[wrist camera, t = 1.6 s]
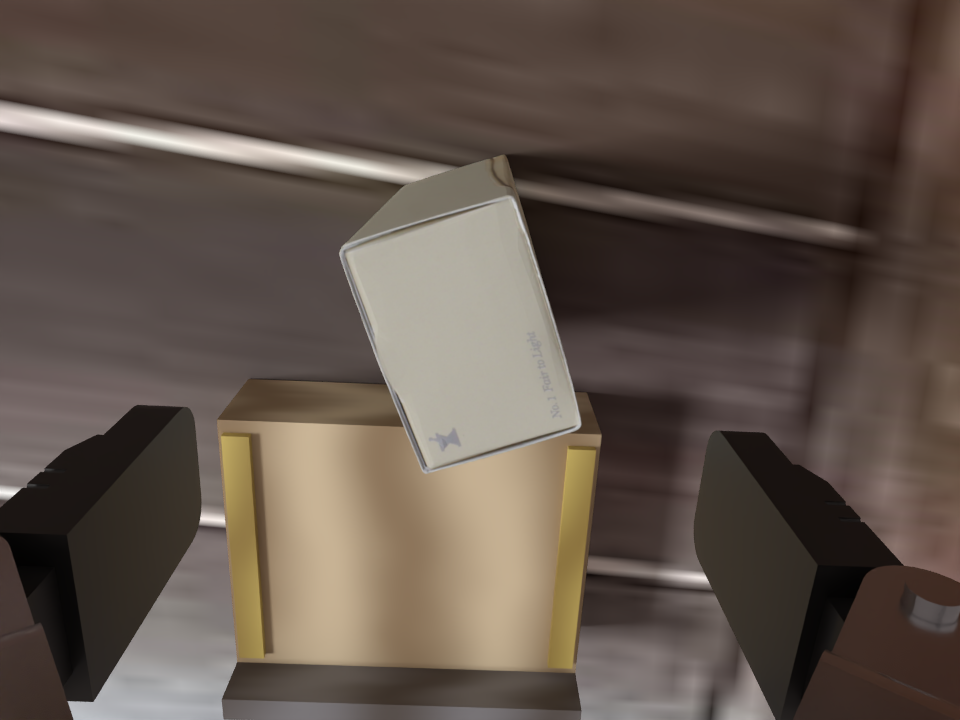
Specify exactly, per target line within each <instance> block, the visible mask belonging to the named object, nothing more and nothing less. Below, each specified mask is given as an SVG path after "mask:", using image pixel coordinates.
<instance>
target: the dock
mask: <svg viewBox="0 0 960 720" xmlns="http://www.w3.org/2000/svg"><path fill="white" fill-rule="evenodd" d="M575 395H576V399H577V404H578V408H579V412H580V416H581V422H582V425H581V427H580V428H579V429H578V430H576V431H574V432H571V433H567V434H564V435H561V436H558V437H555V438H552V439H549V440H546V441H542V442H539V443H536V444H533V445H529V446H526V447H523V448H519V449H515V450H511V451H508V452H504V453H501V454H497V455H494V456H491V457H487V458H484V459H479V460H476V461H473V462H468V463H465V464H461V465H457V466H454V467H450V468H446V469H441V470H438V471H435V472H432V473H428V474H425V473H423V471H422V469H421V468H420V465H419V462H418V460H417V457H416V454H415V452H414V450H413V448H412V445H411V443H410V440H409V438H408V436H407V433H406V431H405V428H404V426H403V423H402V421H401V418H400V416H399V413H398V411H397V409H396V406H395V404H394V402H393V399H392V396H391V394H390V391H389V389H388V386H387V385H386V384H361V383H336V382H311V381H286V380H261V379H248V381H247V382H246V383H245V384H244V386H243V387H242V388H241V389H240V391H239V392H238V393H237V395H236V396H235V397H234V398H233V400H232V401H231V402H230V404H229V405H228V406H227V407H226V409H225V410H224V411H223V413H222V414H221V415H220V416H219V418H218V419H217V427H218V438H219V450H220V462H221V474H222V486H223V498H224V509H225V521H226V533H227V545H228V557H229V569H230V580H231V592H232V604H233V616H234V628H235V640H236V651H237V664H236V667H235V669H234V671H233V674H232V676H231V679H230V681H229V683H228V686H227V688H226V691H225V693H224V695H223V698H222V706H223V717H224V719H228V720H580V719H581V705H580V699H579V693H578V687H577V681H576V675H575V670H576V661H577V652H578V643H579V634H580V625H581V616H582V607H583V598H584V589H585V580H586V571H587V562H588V553H589V544H590V535H591V526H592V517H593V509H594V500H595V491H596V482H597V473H598V464H599V455H600V446H601V437H602V434H601V431H600V428H599V426H598V423H597V420H596V417H595V414H594V412H593V409H592V406H591V403H590V400H589V398H588V395H587V392H575Z"/></svg>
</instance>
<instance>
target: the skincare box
mask: <svg viewBox="0 0 960 720" xmlns="http://www.w3.org/2000/svg"><path fill="white" fill-rule="evenodd" d="M339 255H340V259H341V262H342V265H343V268H344V271H345V274H346V276H347V279H348V282H349V285H350V288H351V291H352V293H353V296H354V299H355V302H356V304H357V307H358V309H359V312H360V315H361V318H362V321H363V323H364V326H365V329H366V332H367V334H368V337H369V340H370V342H371V345H372V348H373V351H374V353H375V356H376V359H377V362H378V364H379V367H380V369H381V371H382V374H383V376H384V379H385V381H386V384H387V386H388V389H389V391H390V394H391V396H392V399H393V402H394V404H395V406H396V409H397V411H398V413H399V416H400V418H401V421H402V423H403V426H404V428H405V431H406V433H407V436H408V438H409V440H410V443H411V445H412V448H413V450H414V452H415V454H416V457H417V460H418V462H419V465H420V468H421V469H422V471H423V473H425V474H428V473H432V472H435V471H438V470H441V469H446V468H450V467H454V466H457V465H461V464H465V463H468V462H473V461H476V460H479V459H484V458H487V457H491V456H494V455H497V454H501V453H504V452H508V451H511V450H515V449H519V448H523V447H526V446H529V445H533V444H536V443H539V442H542V441H546V440H549V439H552V438H555V437H558V436H561V435H564V434H567V433H571V432H574V431H576V430H578V429H579V428H580V427H581V425H582V422H581V416H580V412H579V408H578V404H577V399H576V395H575V391H574V387H573V383H572V379H571V376H570V372H569V368H568V364H567V360H566V357H565V353H564V350H563V346H562V343H561V339H560V336H559V332H558V329H557V325H556V322H555V319H554V315H553V312H552V309H551V306H550V302H549V299H548V296H547V293H546V289H545V286H544V283H543V279H542V276H541V272H540V269H539V265H538V262H537V258H536V255H535V251H534V247H533V244H532V240H531V237H530V233H529V230H528V226H527V223H526V219H525V216H524V213H523V209H522V206H521V203H520V199H519V196H518V192H517V189H516V186H515V182H514V179H513V176H512V172H511V169H510V166H509V162H508V159H507V157H506V156H505V155H501V156H497V157H494V158H490V159H487V160H483V161H480V162H476V163H473V164H470V165H466V166H463V167H460V168H457V169H454V170H450V171H447V172H444V173H441V174H438V175H434V176H431V177H428V178H425V179H422V180H419V181H416V182H413V183H410V184H408V185H405V186H404V187H402V188H401V189H400V190H399V191H398V192H397V193H396V194H395V195H394V196H393V197H392V198H391V199H390V200H389V201H388V202H387V203H386V204H385V205H384V206H383V207H382V208H381V209H380V210H379V211H378V212H377V213H376V214H375V215H374V216H373V217H372V218H371V219H370V220H369V221H368V222H367V223H366V224H365V225H364V226H363V227H362V228H361V229H360V230H359V231H358V232H357V233H356V234H355V235H354V236H353V237H352V238H351V239H350V240H349V241H348V242H346V243H345V244H344V245H343V246H342V247H341V250H340V253H339Z"/></svg>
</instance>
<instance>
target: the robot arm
mask: <svg viewBox="0 0 960 720" xmlns="http://www.w3.org/2000/svg"><path fill="white" fill-rule="evenodd" d="M845 503H846V502H845V501H844V499H843V498H842V497H841V496H840V495H839V494H838V493H837V492H836V491H835V490H834V488H833V487H832V486H831V485H830V484H829V483H828V482H827V481H825V480H823V479H822V478H820V477H818V476H817V475H815V474H813V473H812V472H810V471H809V470H807V469H805V468H804V467H802V466H800V465H793V464H792V463H791V462H790V461H789V460H788V459H787V457H786V456H785V455H784V454H783V453H782V452H781V450H780V449H779V448H778V447H777V446H776V445H775V443H774V442H773V441H772V440H771V439H770V438H769V436H768V435H767V434H765V433H759V432H736V431H714V432H713V433H712V435H711V436H710V439H709V441H708V445H707V449H706V455H705V461H704V467H703V473H702V479H701V484H700V490H699V496H698V502H697V508H696V513H695V520H694V543H695V549H696V554H697V557H698V560H699V562H700V564H701V566H702V568H703V570H704V572H705V574H706V577H707V579H708V581H709V583H710V585H711V587H712V589H713V591H714V593H715V595H716V597H717V599H718V601H719V603H720V605H721V608H722V610H723V612H724V614H725V616H726V618H727V620H728V622H729V624H730V626H731V628H732V630H733V632H734V634H735V636H736V639H737V641H738V643H739V645H740V647H741V649H742V651H743V653H744V655H745V657H746V659H747V661H748V663H749V665H750V667H751V669H752V672H753V674H754V676H755V678H756V680H757V682H758V684H759V686H760V688H761V690H762V692H763V694H764V696H765V698H766V700H767V703H768V705H769V707H770V709H771V711H772V713H773V715H774V717H775V719H776V720H960V583H959V582H957V581H955V580H953V579H951V578H948V577H945V576H943V575H940V574H938V573H934V572H931V571H928V570H924V569H920V568H915V567H909V566H904V565H903V564H902V563H901V562H900V561H899V560H898V559H897V558H896V557H895V555H894V554H893V553H892V552H891V551H890V550H889V549H888V548H887V547H886V546H885V544H884V543H883V542H882V541H881V540H880V539H879V538H878V537H877V536H876V535H875V533H874V532H873V531H872V530H871V529H870V528H869V527H868V526H867V525H866V524H865V522H861V521H860V517H859V516H858V515H857V514H856V513H855V512H854V510H853V509H852V508H851V507H850V506H846V504H845ZM200 515H201V488H200V477H199V465H198V453H197V442H196V430H195V421H194V417H193V414H192V412H191V410H190V409H189V408H187V407H172V406H148V405H136V406H134V407H133V408H132V409H131V410H130V411H129V412H128V413H126V414H125V415H124V416H123V417H122V418H121V419H120V420H119V421H118V422H117V423H116V424H115V425H114V426H113V427H112V428H111V429H109V430H108V431H107V432H106V433H105V434H104V435H96V436H94V437H91V438H89V439H87V440H85V441H83V442H81V443H79V444H77V445H75V446H73V447H70V448H68V449H66V450H65V451H64V452H62V453H61V454H60V455H59V456H58V457H57V458H56V459H55V460H53V461H52V462H51V463H50V464H49V465H48V466H47V467H46V468H45V471H44V472H40V473H39V474H38V475H37V476H35V477H34V478H33V479H32V480H31V481H30V482H29V483H28V484H27V488H22V489H21V490H20V491H18V492H17V493H16V494H15V495H14V496H13V497H12V498H11V499H9V500H8V501H7V502H6V503H5V504H4V505H3V506H2V507H0V720H73V717H72V714H71V711H70V708H69V705H68V702H67V701H82V702H94V700H95V698H96V697H97V695H98V694H99V692H100V690H101V689H102V687H103V685H104V684H105V682H106V681H107V679H108V677H109V676H110V674H111V672H112V671H113V669H114V668H115V666H116V664H117V663H118V661H119V659H120V658H121V656H122V655H123V653H124V651H125V650H126V648H127V647H128V645H129V643H130V642H131V640H132V638H133V637H134V635H135V634H136V632H137V630H138V629H139V627H140V625H141V624H142V622H143V621H144V619H145V617H146V616H147V614H148V613H149V611H150V609H151V608H152V606H153V604H154V603H155V601H156V600H157V598H158V596H159V595H160V593H161V591H162V590H163V588H164V587H165V585H166V583H167V582H168V580H169V578H170V577H171V575H172V574H173V572H174V570H175V569H176V567H177V566H178V564H179V562H180V561H181V559H182V557H183V556H184V554H185V553H186V551H187V549H188V548H189V546H190V544H191V543H192V541H193V539H194V537H195V535H196V532H197V529H198V526H199V521H200Z"/></svg>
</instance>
